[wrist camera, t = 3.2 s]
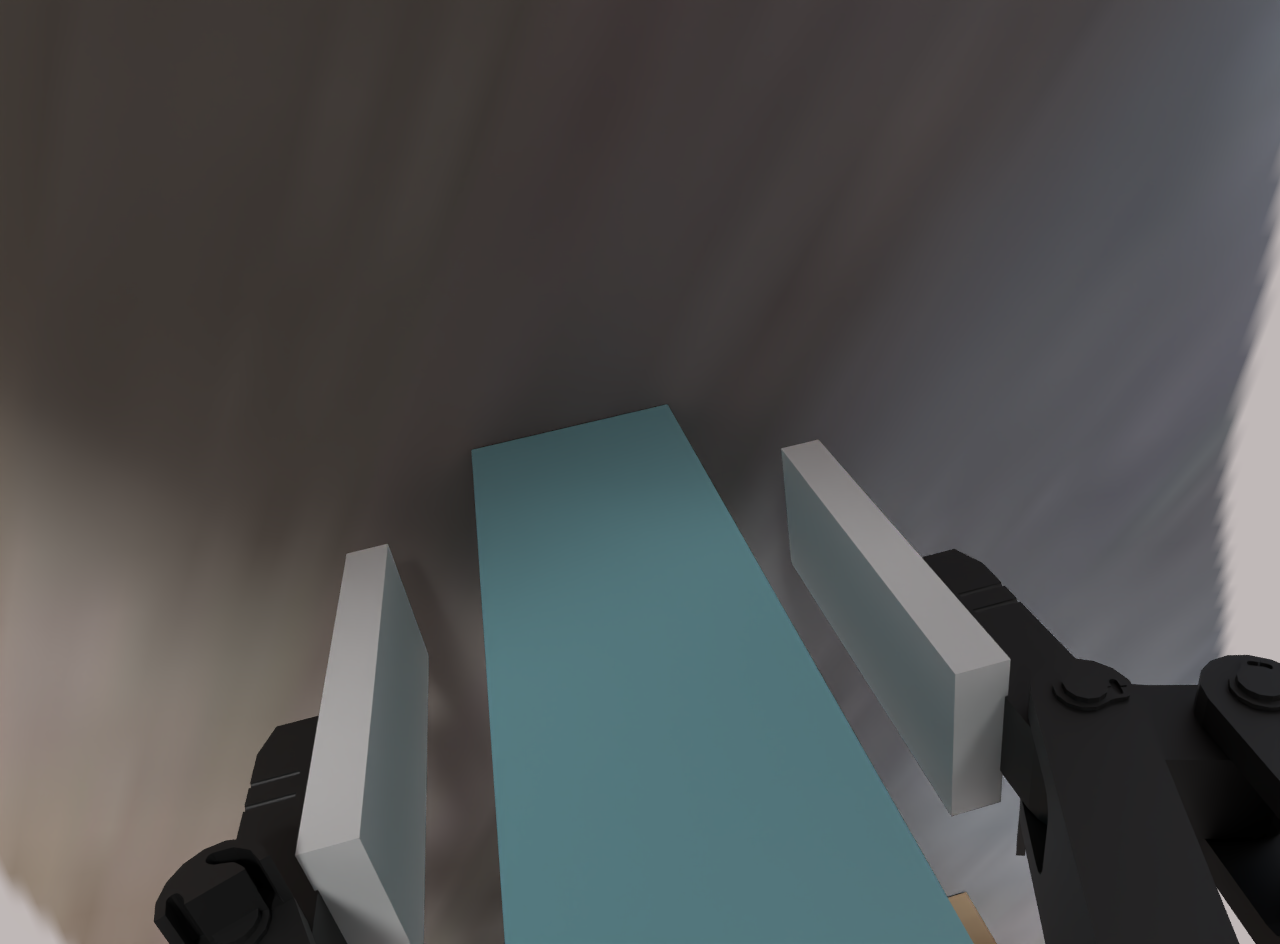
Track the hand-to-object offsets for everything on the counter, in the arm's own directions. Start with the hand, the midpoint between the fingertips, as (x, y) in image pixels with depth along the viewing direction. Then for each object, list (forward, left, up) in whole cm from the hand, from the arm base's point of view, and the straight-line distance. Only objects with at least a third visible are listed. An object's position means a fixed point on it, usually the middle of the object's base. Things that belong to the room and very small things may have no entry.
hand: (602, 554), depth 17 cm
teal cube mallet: (+11, 0, -2) cm, 11 cm away
